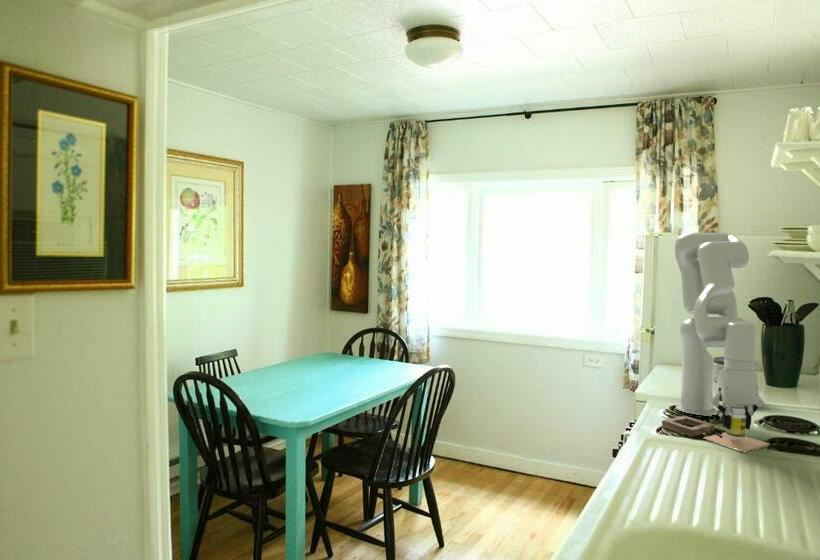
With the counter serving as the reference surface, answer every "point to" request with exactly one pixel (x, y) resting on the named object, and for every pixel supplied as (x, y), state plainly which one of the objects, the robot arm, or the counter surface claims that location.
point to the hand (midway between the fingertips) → (736, 427)
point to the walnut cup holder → (677, 426)
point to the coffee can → (717, 371)
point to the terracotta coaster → (738, 442)
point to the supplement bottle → (737, 422)
